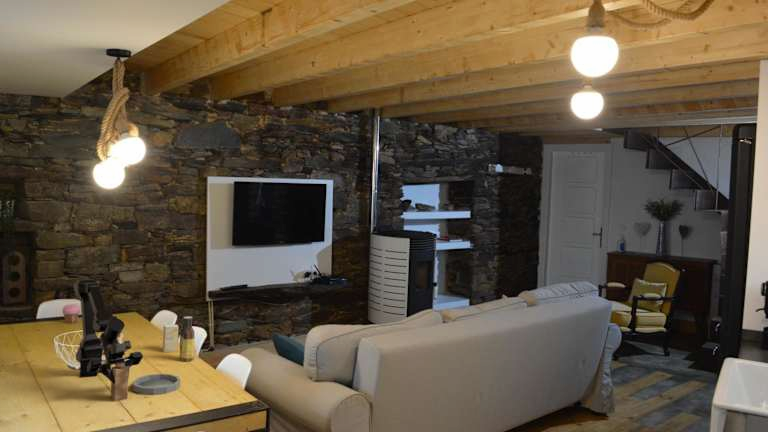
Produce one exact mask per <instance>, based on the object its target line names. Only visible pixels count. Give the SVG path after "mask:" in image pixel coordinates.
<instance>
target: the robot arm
mask: <svg viewBox="0 0 768 432" xmlns="http://www.w3.org/2000/svg"><path fill="white" fill-rule="evenodd" d="M101 289H102V286H101V283H100V281H97V280H95V278H83V279H77V280H76V282H74V283H73V291H74V293H75V296H76V297H77V299H78V300H79V301H80V313H81V323H82V338H81V340H80V341H79V344H78V345H79V348H78V349H77V352H76V353H75V361H77V362H78V363H79V378H89V377H96V376H98V374H101V375H103V376H104V377H105V378H107V379H108V380H109V382H110V383H111V382H112V383H113V384H115V379H114V376H113V373H112V370H111V368H112V365H113V366H114V365H115V364H116V363H125V366H126V367H127V368H128V379H129V377H130V368H132V366H137V365H139V364H140V363H141V361H142V359H143V357H144V356H143V353H142V352H141V351H134V352H129V355H128V356H125V354H126V353H125V352H128V350H130V349H132V344H131V341H130V340H125V341H123V342H119V337H120V336H121V333H122V332H123V330H124V328H125V322H124V321H123V320H122V319H120V318H118V317H117V316H116V315H115V316H114V315H113V313H112V312H111V311H109V310H108V309H107V305H106V303H105V299H104V297H103V293H102V290H101ZM97 333H101V334H100V337H98V335H97ZM103 356H104V358H105V359H103ZM123 356H124V357H123Z"/></svg>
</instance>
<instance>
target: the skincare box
mask: <svg viewBox="0 0 768 432" xmlns="http://www.w3.org/2000/svg"><path fill="white" fill-rule="evenodd" d="M162 334H163V335H162V351H163V352H164V353H174V352H176V353H177V352H178V345H179V344H178V343H179V325H178V324H176V323H175V324H164V325H163V333H162Z"/></svg>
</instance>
